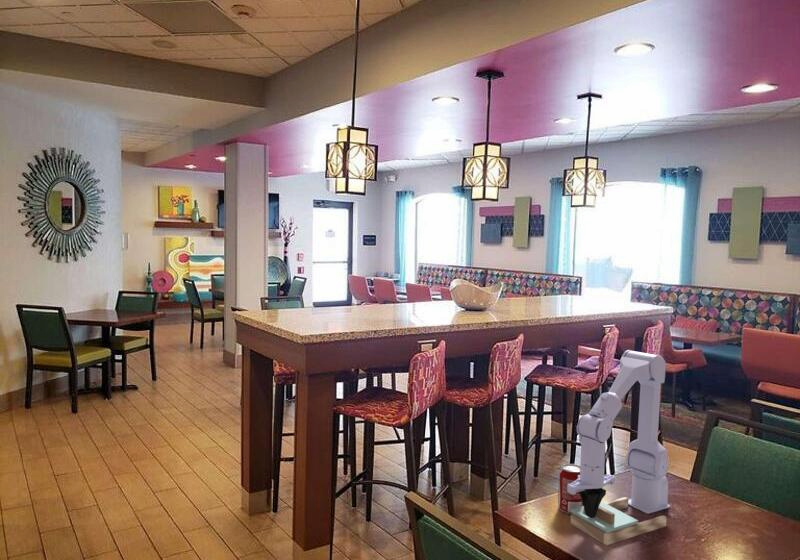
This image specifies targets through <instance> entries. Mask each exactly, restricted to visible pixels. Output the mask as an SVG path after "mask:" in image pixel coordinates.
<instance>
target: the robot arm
mask: <svg viewBox="0 0 800 560" xmlns="http://www.w3.org/2000/svg"><path fill="white" fill-rule="evenodd" d="M666 363H667V362H666V361H665V359H664V357H663V356H662V355H660V354H653V353H652V354H651V353H647V352H641V351H635V350H632V349H627V350H625V351H624V352H623V353H622V356H621V358H620V359H619V369H620V370H619V371H618V373H617V376H616V377H615V379H614V380H613V383H612V384H611V387H610V389H609V390H608V392H603V393H601V394H600V396H599V397H598V399H597V400H596V402H595V403H594V404H593V406H592V407H591V409H590V411H589V412H588V413H586V414H584V415H582V416H580V417H579V419H578V422H577V425H576V433H577V435H578V441H579V443H580V465H579V466H580V475H578V479H577V480H575V481H574V482H572V483H570V484H567V492H569V493H570V494H572V495H574V494H576V492H578V493H579V495H580V497H581V499H582V502H583V505H584V509H585V514H586V516H588V517H590V518H594V517H595V516H596V513H597V510H598V507H599V505H600V502H601V501H602V500H603V499H604V498H605V496H606V495H607V490H606V489H605V488H604V487H605V486H607V485H612V486H613V485H615V484H616V476H614V475H612V474H605V464H606V463H605V462H606V461H605V458H606V442H607V441H608V439H610V436H611V433H612V428H613V427H614V423H613V422H614V421H615V418H616V417H617V416H618V414H619V413H620V411H621V409H622V408H623V403H622V400H623V398H624V397H625V396H626V394H627V393H628V392H629V391H630V389H631V388H632V387H633V386H634V384H635V383H636V382H639V384H640V387H639V388H640V389H639V406H638V408H639V409H638V424H637V439H634V440H633V441H631V442H630V443H629V444H628V449H627V453H626V456H625V463H626V466H627V467H628V468H629V469H630V470H629V473H632V478H631V479H632V480H631V498H628V506H631V507H632V508H635V509H637V510H639V511H641V512H642V513H644V514H647V515H648V514H652V513H656V512H659V511H662V510H666V509H669V508H670V507H671V506H670V504H668V498H669V497H668V495H669V483H668V479H667V477H666V475H667V474H668V471H669V465H670V464H669V460H668V450H667V449H666V448H665V447H664V446H663V444H661V443H660V441H659V440H658V437H659V436H658V435H659V422H660V406H661V389H662V388H661V387H662V384H665V379H666V369H667V367H666Z"/></svg>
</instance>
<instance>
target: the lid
mask: <svg viewBox="0 0 800 560" xmlns="http://www.w3.org/2000/svg"><path fill="white" fill-rule="evenodd" d="M571 512H572V513H573V514H575V515H577V516H579V517H580V518H582V519H584V520H586V521H587V522H589V523H591V524H593V525H594V526H596V527H598V528H600V529H601V530H603V531H605V532H607V533H609V532H612V531H615V530H619V529H622V528H625V527H628V526H632V525H635V524H638V523H639V520H638V519H636V518H634V517H632V516H630V515H629V514H627V513H624V512H622V511H621V510H620V509H619V510H617V509H615V508H613V507H611V506H609V505H607V504H605V502H603V501H602V500H601V502H600V505H599V507H598V510H597V513H596V516H595V517H594V518H590V517H588V516H586V514H585V509H584V506H582V507H578V508H574V509H571Z"/></svg>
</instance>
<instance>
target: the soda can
mask: <svg viewBox="0 0 800 560" xmlns="http://www.w3.org/2000/svg"><path fill="white" fill-rule="evenodd" d="M578 475H580V465H579V464H574V463H565V464H562V465H561V469H560V470H559V472H558V497H557V498H558V501H557V508H558V510H559V511H562V512H563V513H564V512H565V513H564V514H566V513H567V515H570V516H571V514H573V513H572V512H571V509H574V508H578V507H582V506H584V505H583V502H582V499H581V497H580V495H579V493H578V492H576V494H574V495H572V494H570V493H569V492H567V484H570V483H572V482H574V481H575V480H577V479H578Z"/></svg>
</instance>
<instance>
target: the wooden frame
mask: <svg viewBox="0 0 800 560" xmlns="http://www.w3.org/2000/svg"><path fill="white" fill-rule="evenodd" d="M628 500H629V498H628V497H626V496H623V497H620V498H617V499H613V500H612V499H611V500H610V501H606V502H604V503H605V504H607V505H609V506H611V507H613V508H615V509H617V510H619V511H620V510H624V509H626V508H629V505H628ZM570 524H571V525H572V526H574V527H576V528H577V529H578V530H581V532H584V533H585V534H587V535H589V536H590V537H592V538H594V539H595V540H598V541H599V542H600V543H602V544H604V545H605V546H608V545H612V544H615V543H618V542H621V541H624V540H627V539H630V538H631V539H632V538H634V537H636V536H637V537H638V536H639V535H643V534H646V533H650V532H652V531H656V530H658V529H662V528H666V527H667V516H666V515H660V516H657V517H653V518H650V519H647V520H643V521H640V522H639V521H638V524H635V525H632V526H628V527H625V528H622V529H619V530H615V531H612V532H609V533H607V532H605V531H603V530H601V529H600V528H598V527H596V526H594V525H593V524H591V523H589V522H587V521H586V520H584V519H582V518H580V517H579V516H577V515H575V514H571V515H570Z"/></svg>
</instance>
